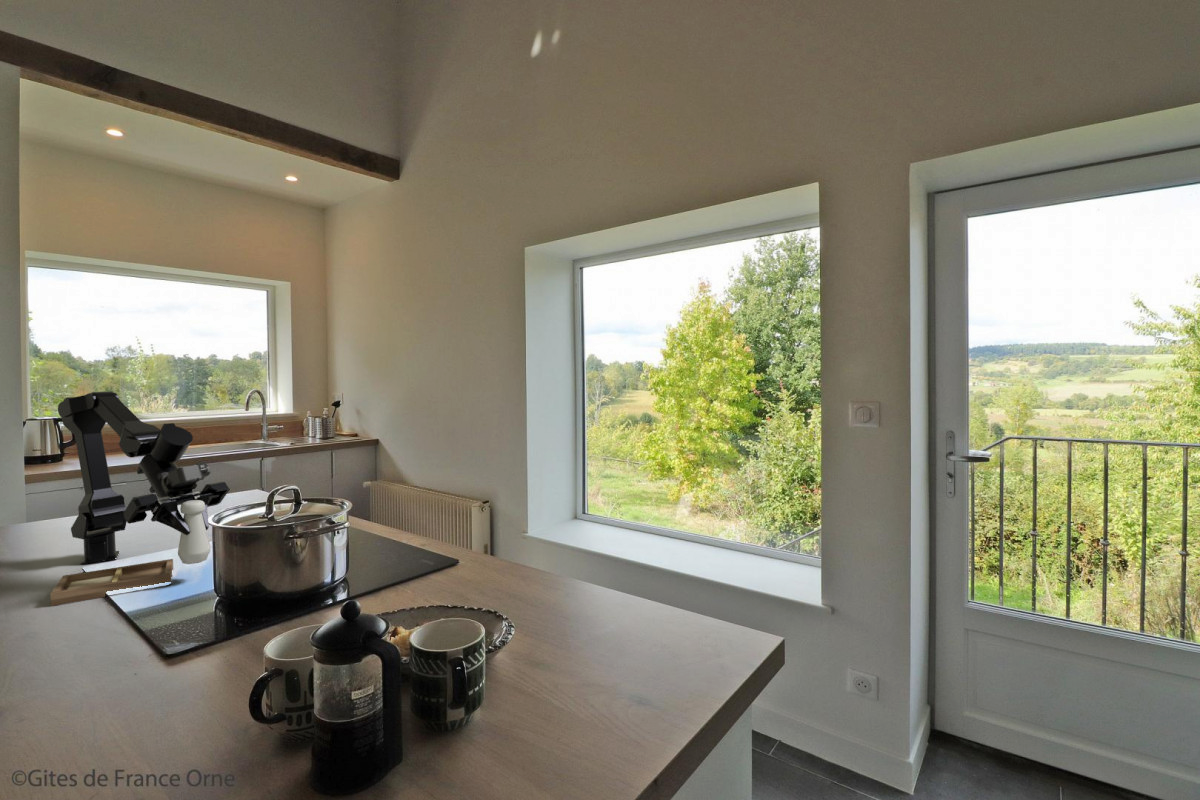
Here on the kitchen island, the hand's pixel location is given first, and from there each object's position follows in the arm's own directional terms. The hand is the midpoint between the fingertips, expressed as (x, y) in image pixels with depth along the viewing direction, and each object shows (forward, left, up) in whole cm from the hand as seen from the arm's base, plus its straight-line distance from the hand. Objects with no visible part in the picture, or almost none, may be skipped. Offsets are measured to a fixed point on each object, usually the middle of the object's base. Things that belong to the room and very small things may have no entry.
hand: (197, 531), depth 121 cm
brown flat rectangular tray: (-7, -14, -11) cm, 19 cm away
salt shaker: (-1, -1, -7) cm, 7 cm away
